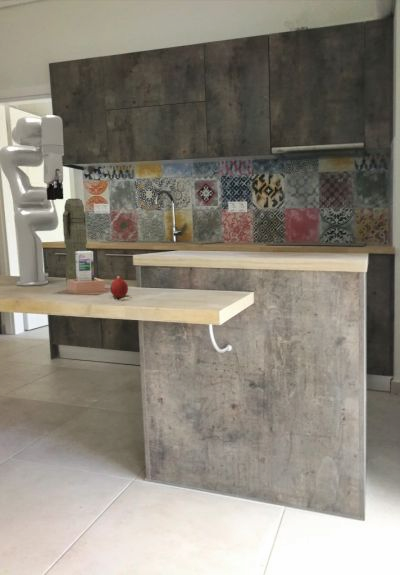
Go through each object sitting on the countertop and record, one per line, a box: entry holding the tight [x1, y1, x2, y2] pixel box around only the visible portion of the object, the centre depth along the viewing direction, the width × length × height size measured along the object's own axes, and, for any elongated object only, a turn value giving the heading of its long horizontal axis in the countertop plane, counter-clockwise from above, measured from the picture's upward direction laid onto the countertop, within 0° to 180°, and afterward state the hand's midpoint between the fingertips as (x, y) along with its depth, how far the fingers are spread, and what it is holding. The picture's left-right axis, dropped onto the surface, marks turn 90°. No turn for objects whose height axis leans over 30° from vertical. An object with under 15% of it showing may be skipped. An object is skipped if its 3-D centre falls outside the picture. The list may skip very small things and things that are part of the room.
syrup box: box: [75, 250, 95, 282], centre depth 193 cm, size 6×6×14 cm
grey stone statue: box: [62, 198, 88, 283], centre depth 212 cm, size 9×12×35 cm
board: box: [51, 287, 111, 296], centre depth 194 cm, size 18×18×1 cm
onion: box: [109, 275, 129, 301], centre depth 181 cm, size 6×6×8 cm
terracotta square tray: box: [66, 277, 106, 294], centre depth 194 cm, size 11×11×4 cm
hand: (55, 199), depth 195 cm, fingers open, 9 cm apart
